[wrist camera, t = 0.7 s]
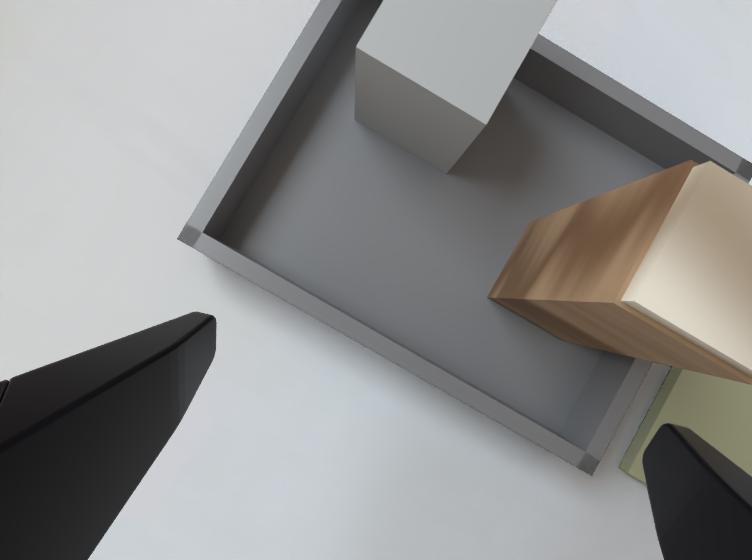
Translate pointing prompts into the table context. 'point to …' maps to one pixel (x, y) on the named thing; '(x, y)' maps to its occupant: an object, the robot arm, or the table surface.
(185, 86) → the table surface
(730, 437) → the olive board
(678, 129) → the tray
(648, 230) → the walnut box
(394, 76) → the grey box
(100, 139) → the table surface
